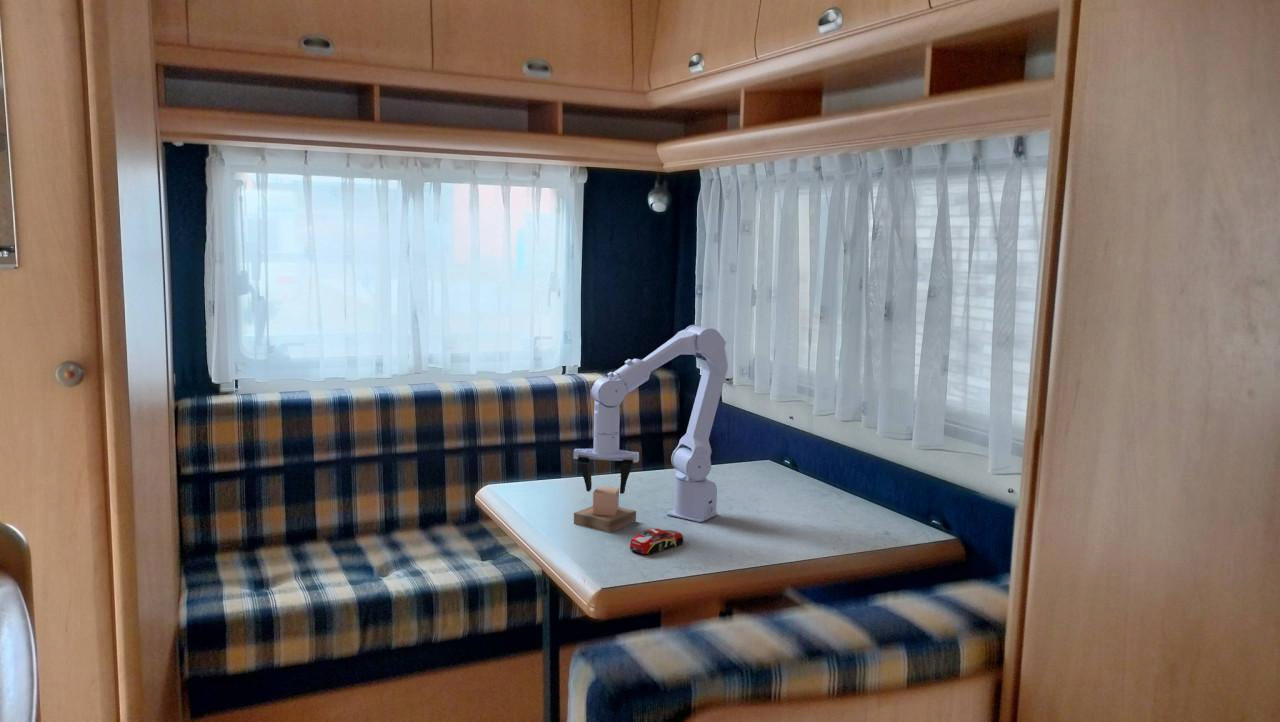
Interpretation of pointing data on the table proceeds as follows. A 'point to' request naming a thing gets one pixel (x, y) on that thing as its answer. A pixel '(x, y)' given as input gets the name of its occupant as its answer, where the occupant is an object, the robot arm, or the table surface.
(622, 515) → the walnut base block
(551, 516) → the table surface
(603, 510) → the terracotta cube
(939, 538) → the table surface
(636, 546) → the race car
